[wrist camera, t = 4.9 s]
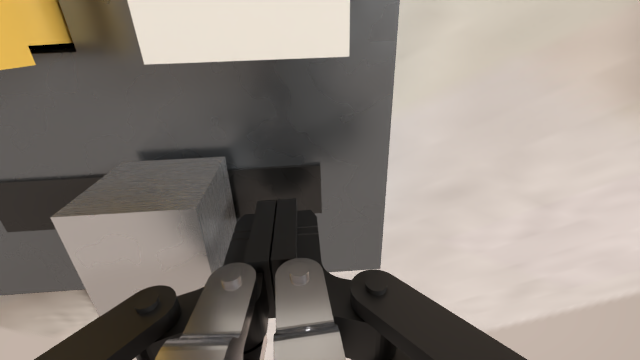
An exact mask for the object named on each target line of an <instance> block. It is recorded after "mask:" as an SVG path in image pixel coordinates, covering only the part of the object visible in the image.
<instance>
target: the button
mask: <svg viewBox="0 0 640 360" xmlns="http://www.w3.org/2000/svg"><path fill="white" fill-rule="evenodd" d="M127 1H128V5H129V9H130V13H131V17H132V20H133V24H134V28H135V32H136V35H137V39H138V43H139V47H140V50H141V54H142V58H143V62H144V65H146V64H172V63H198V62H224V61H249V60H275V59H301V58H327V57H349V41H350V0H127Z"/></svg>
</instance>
